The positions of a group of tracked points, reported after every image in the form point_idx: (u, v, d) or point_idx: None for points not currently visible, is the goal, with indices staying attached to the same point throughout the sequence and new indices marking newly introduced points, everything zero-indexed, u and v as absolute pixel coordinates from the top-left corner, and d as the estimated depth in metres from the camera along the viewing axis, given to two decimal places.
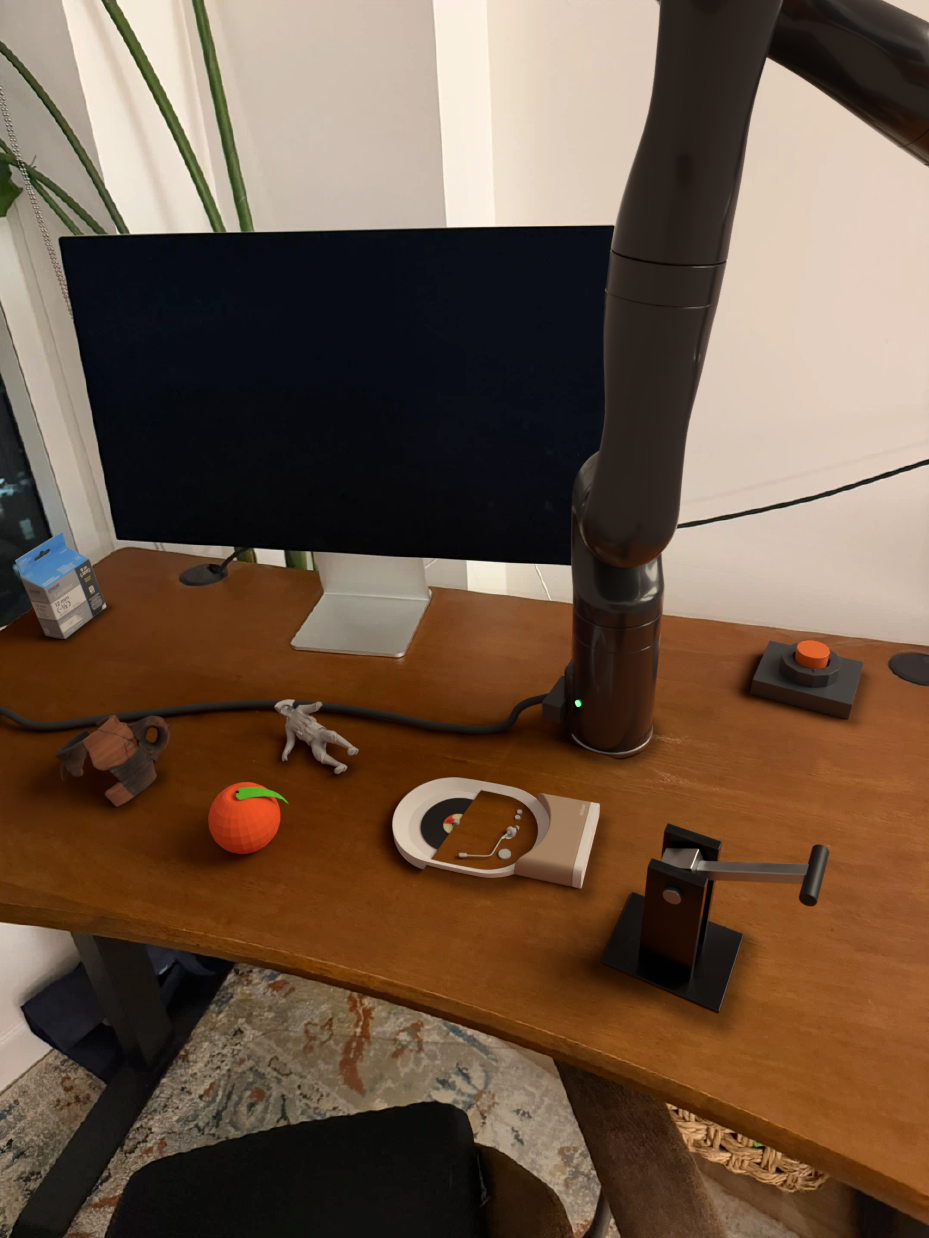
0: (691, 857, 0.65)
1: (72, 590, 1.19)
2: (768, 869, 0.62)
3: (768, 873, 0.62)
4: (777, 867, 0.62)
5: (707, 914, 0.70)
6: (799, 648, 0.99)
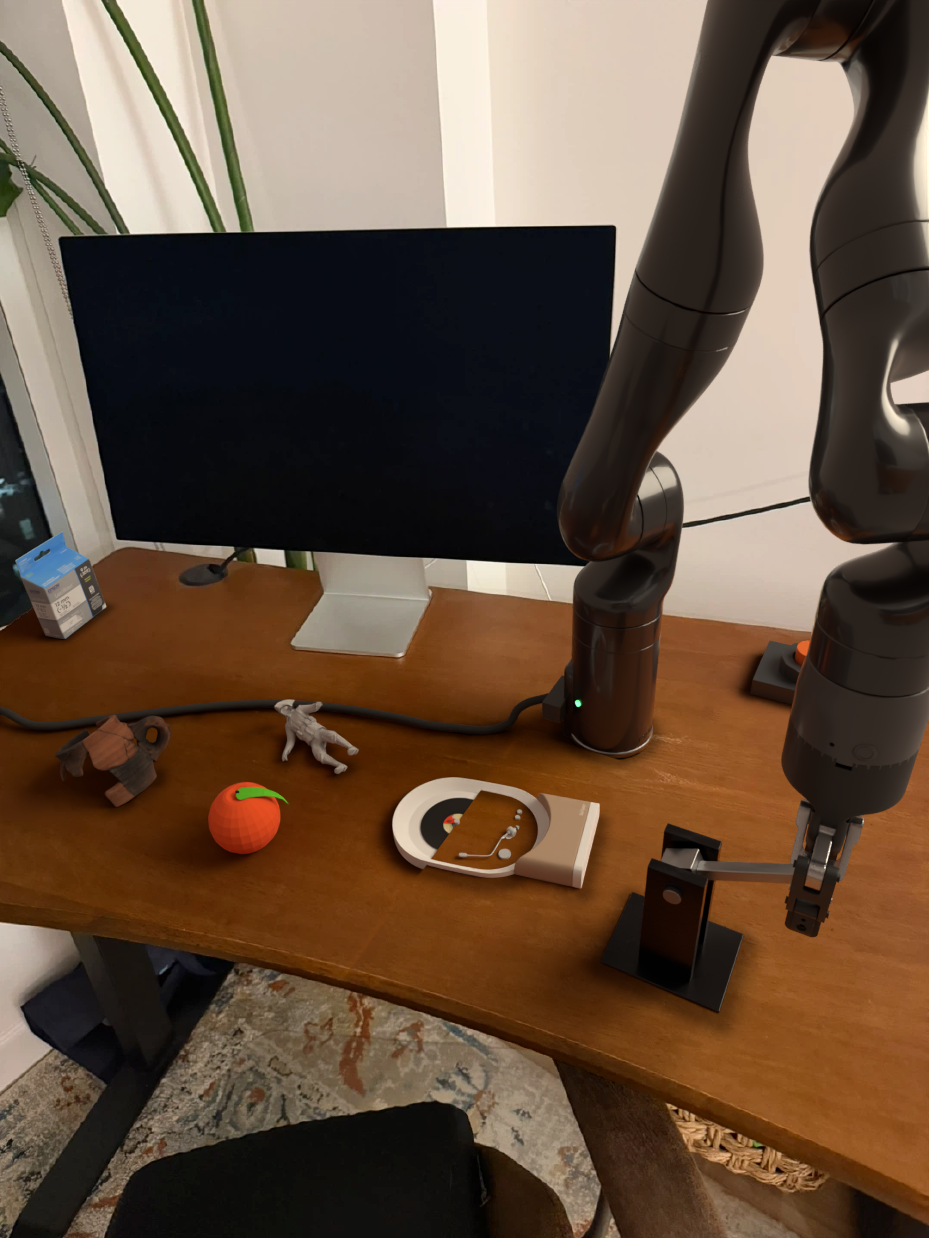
0: (691, 857, 0.65)
1: (72, 590, 1.19)
2: (768, 869, 0.62)
3: (768, 873, 0.62)
4: (777, 867, 0.62)
5: (707, 914, 0.70)
6: (799, 648, 0.99)
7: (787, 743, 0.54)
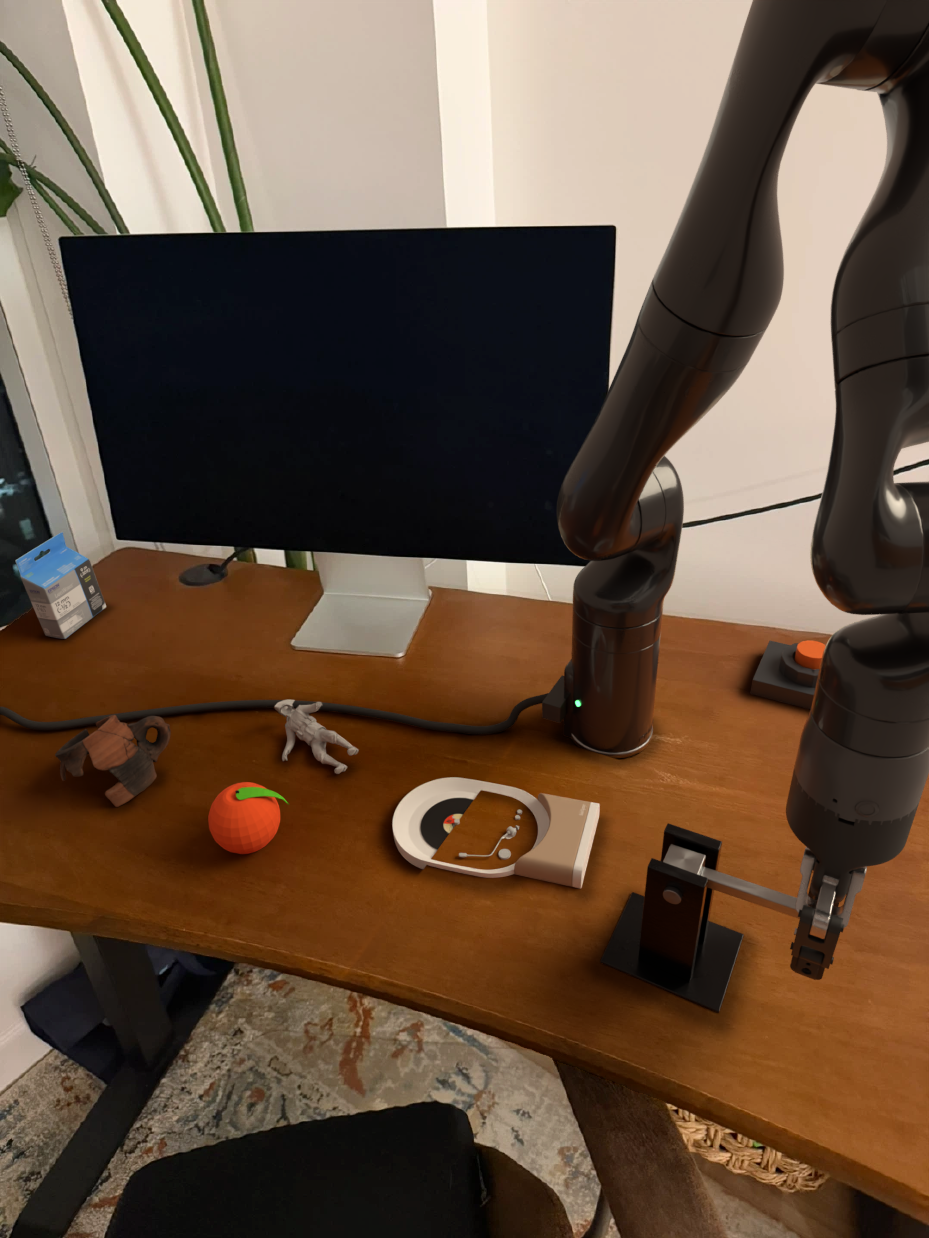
0: (698, 862, 0.65)
1: (72, 590, 1.19)
2: (774, 897, 0.63)
3: (774, 901, 0.63)
4: (784, 898, 0.63)
5: (707, 914, 0.70)
6: (799, 648, 0.99)
7: (791, 795, 0.56)
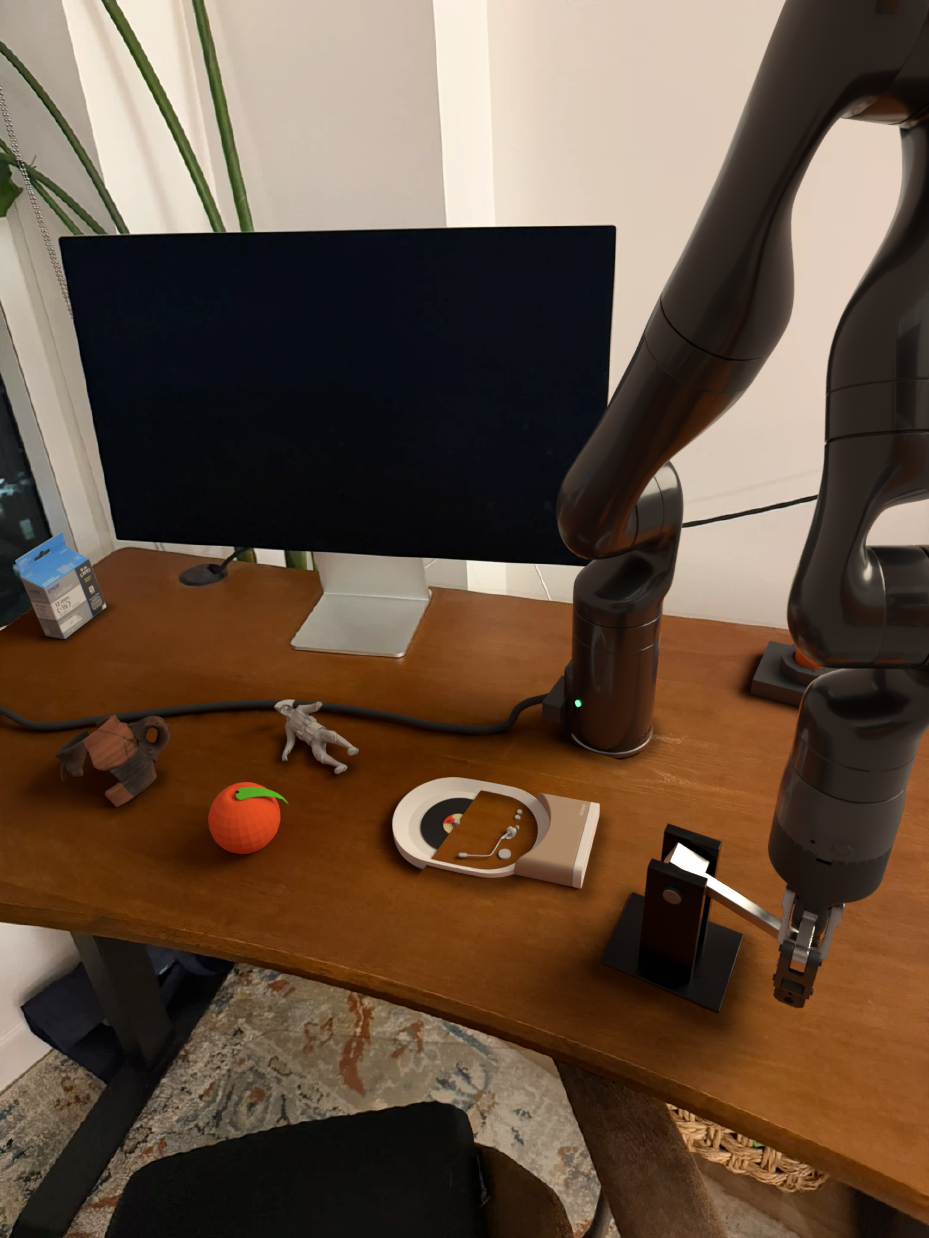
0: (702, 868, 0.65)
1: (72, 590, 1.19)
2: (766, 918, 0.64)
3: (765, 923, 0.64)
4: (774, 921, 0.64)
5: (707, 914, 0.70)
6: None
7: (773, 834, 0.58)
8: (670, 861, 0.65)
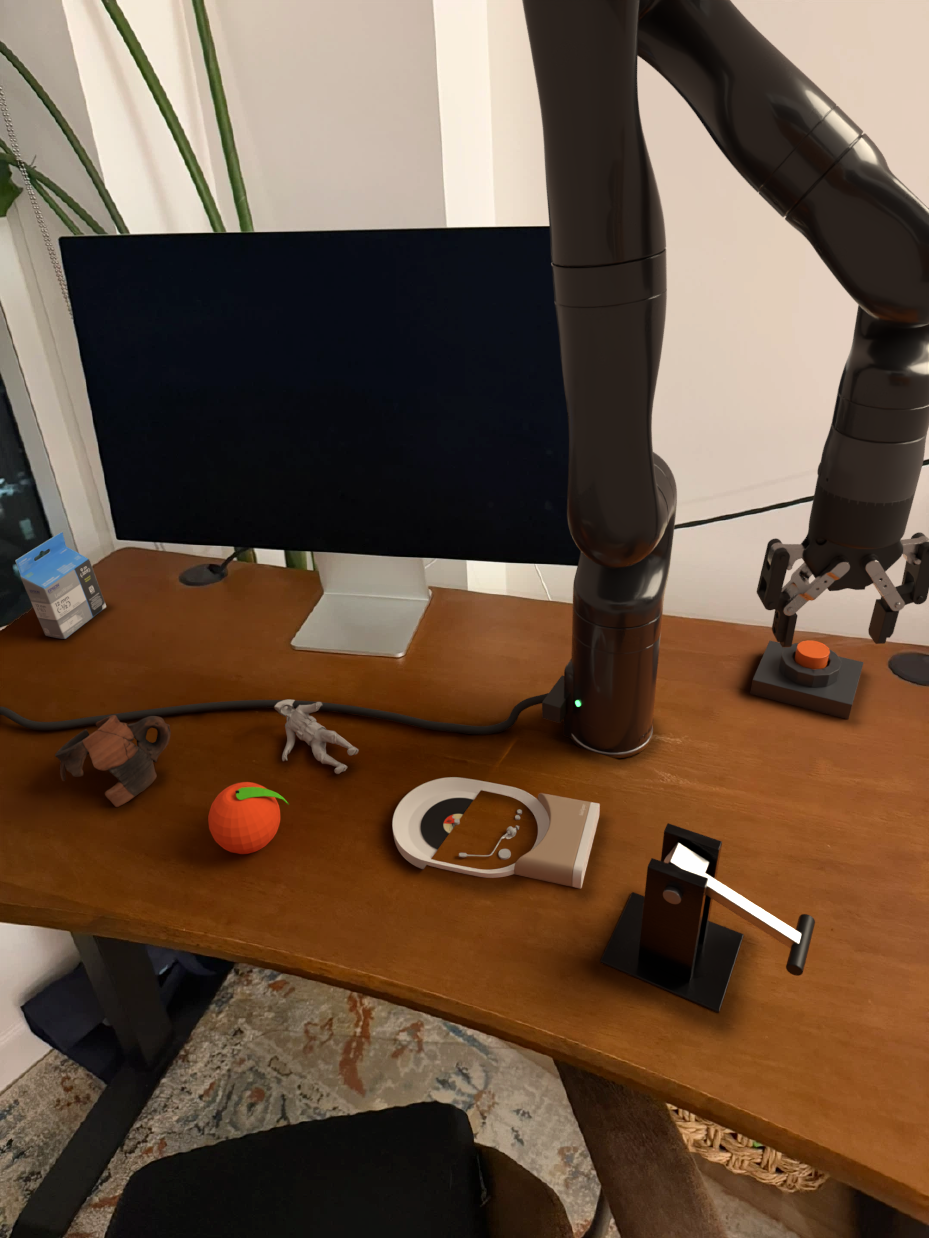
0: (702, 868, 0.65)
1: (72, 590, 1.19)
2: (766, 919, 0.64)
3: (765, 923, 0.64)
4: (774, 921, 0.65)
5: (707, 914, 0.70)
6: (799, 648, 0.99)
7: (896, 520, 0.68)
8: (670, 861, 0.65)
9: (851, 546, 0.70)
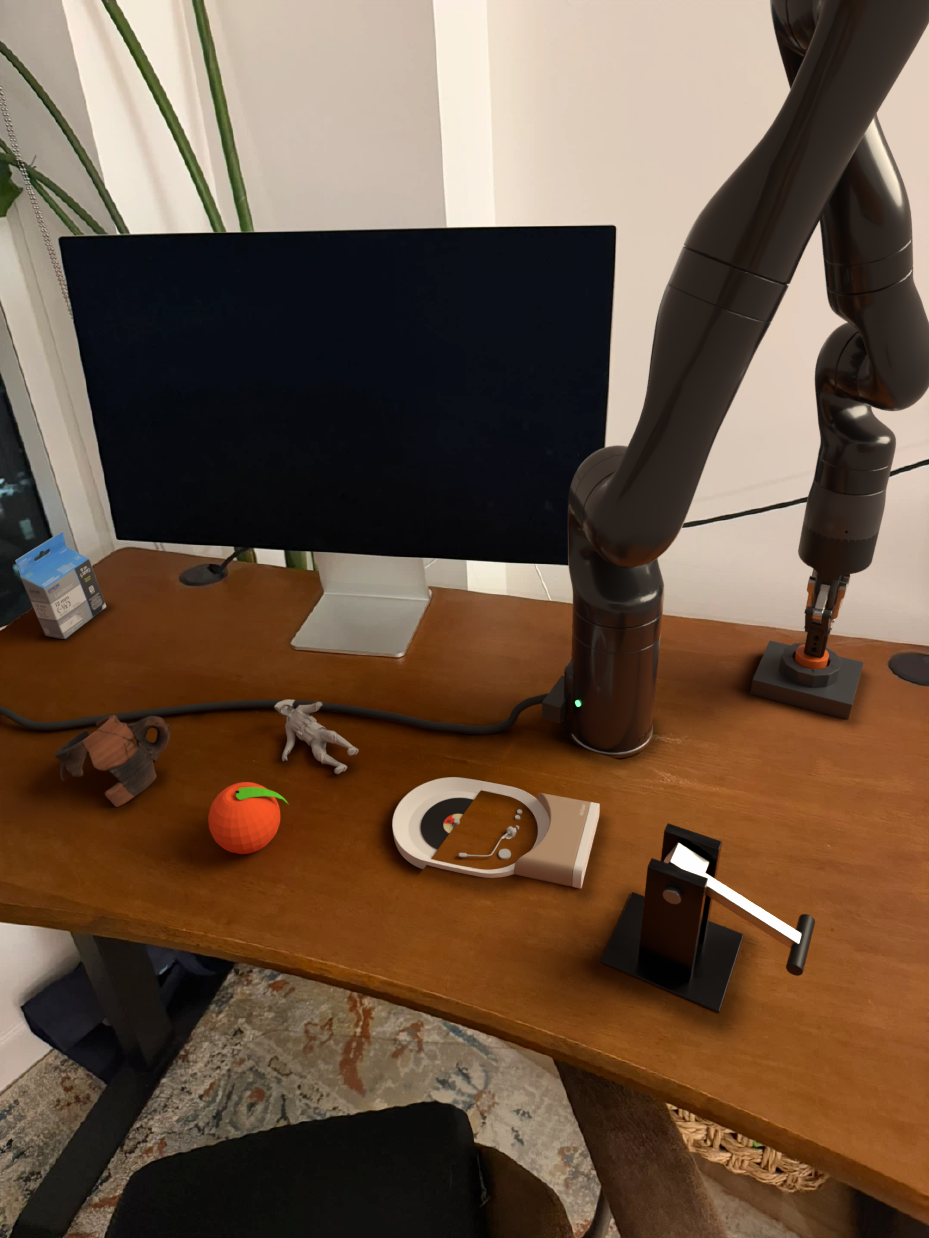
0: (702, 868, 0.65)
1: (72, 590, 1.19)
2: (766, 919, 0.64)
3: (765, 923, 0.64)
4: (774, 921, 0.65)
5: (707, 914, 0.70)
6: (798, 652, 1.00)
7: None
8: (670, 861, 0.65)
9: (864, 569, 0.90)
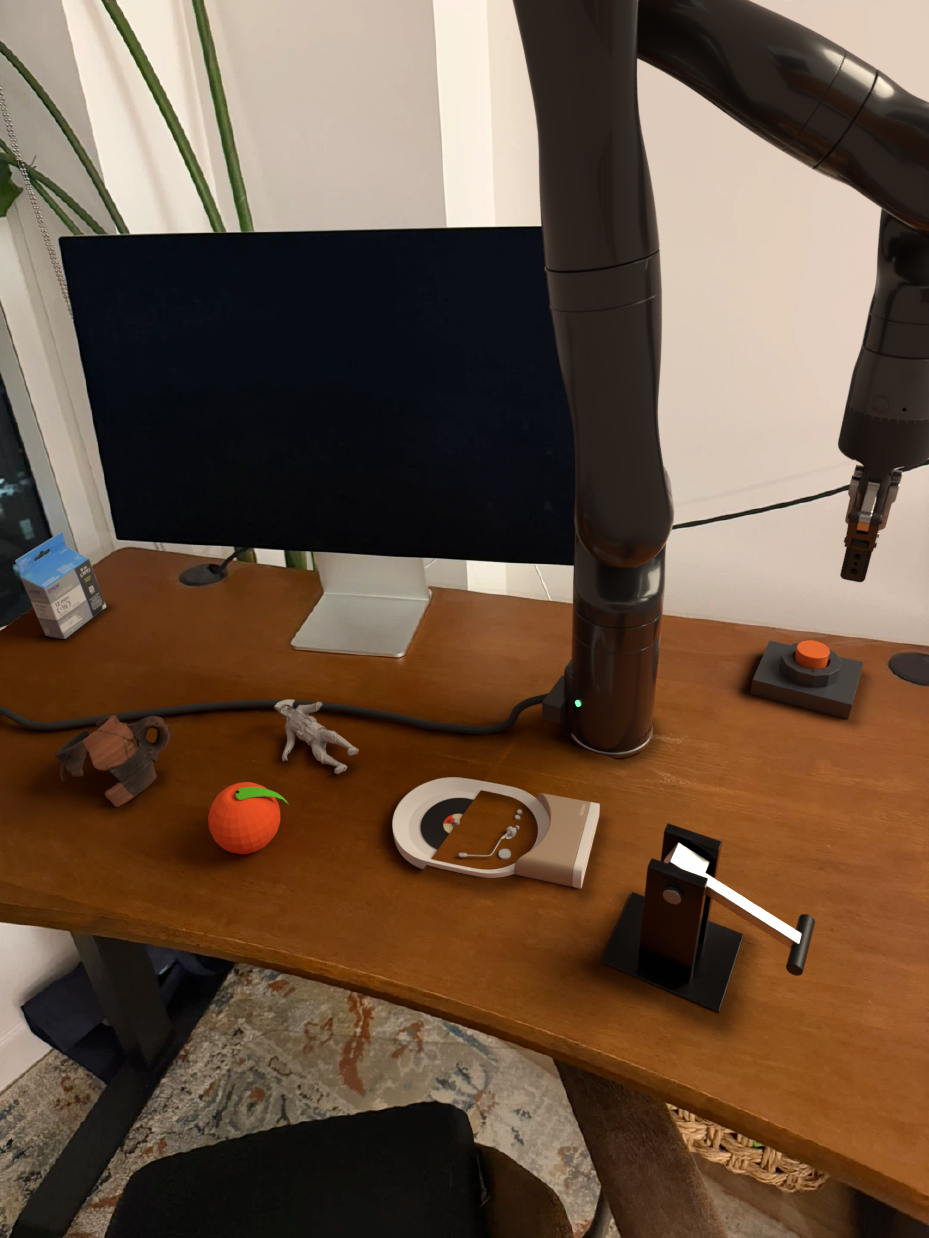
0: (702, 868, 0.65)
1: (72, 590, 1.19)
2: (766, 919, 0.64)
3: (765, 923, 0.64)
4: (774, 921, 0.65)
5: (707, 914, 0.70)
6: (799, 648, 0.99)
7: None
8: (670, 861, 0.65)
9: (923, 462, 0.72)
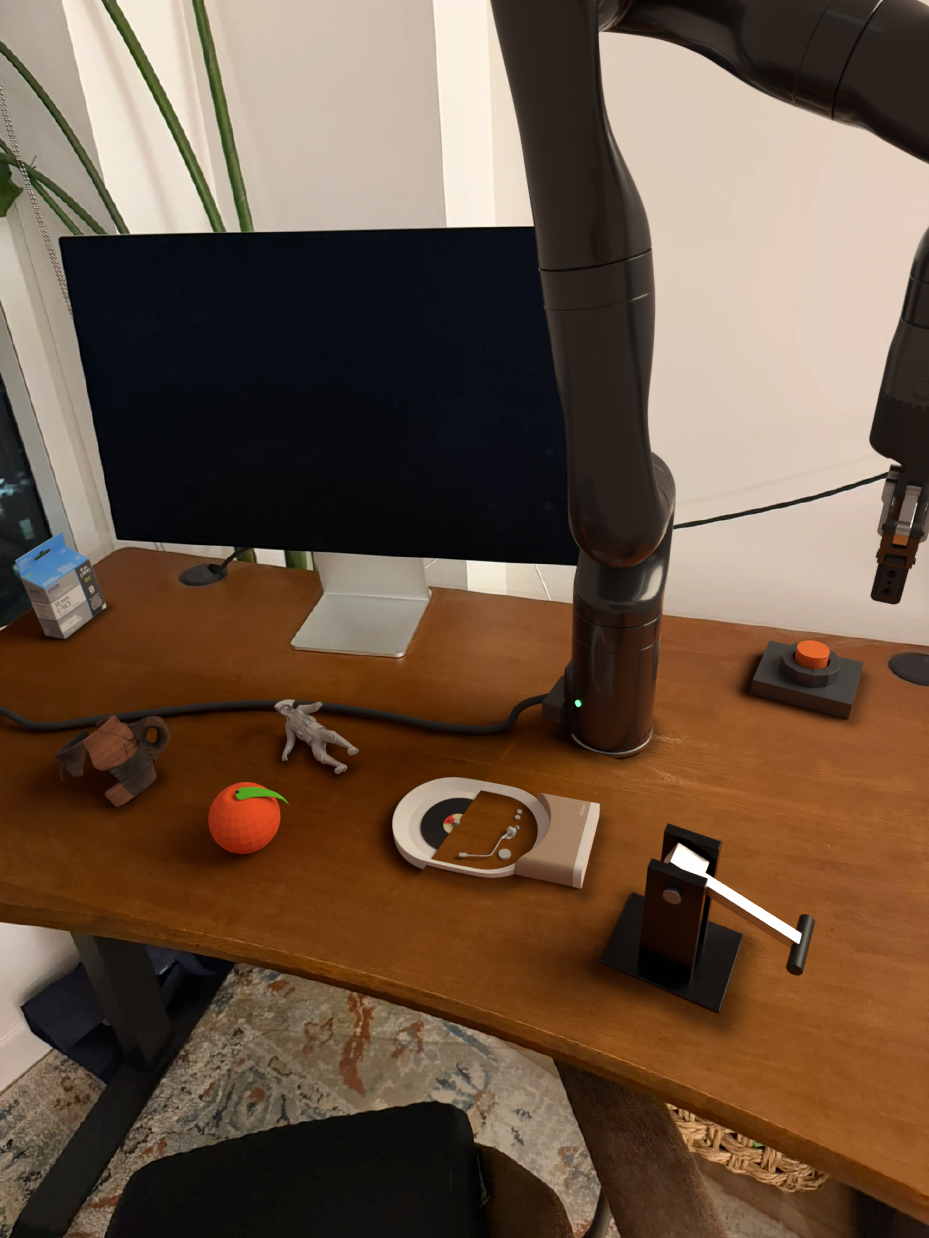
0: (702, 868, 0.65)
1: (72, 590, 1.19)
2: (766, 919, 0.64)
3: (765, 923, 0.64)
4: (774, 921, 0.65)
5: (707, 914, 0.70)
6: (799, 648, 0.99)
7: None
8: (670, 861, 0.65)
9: None
